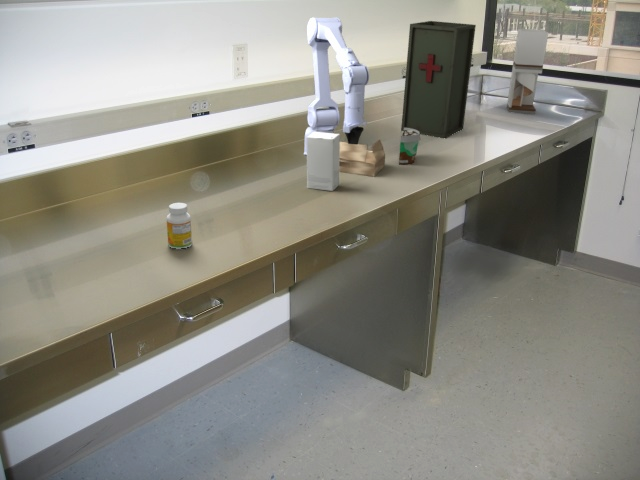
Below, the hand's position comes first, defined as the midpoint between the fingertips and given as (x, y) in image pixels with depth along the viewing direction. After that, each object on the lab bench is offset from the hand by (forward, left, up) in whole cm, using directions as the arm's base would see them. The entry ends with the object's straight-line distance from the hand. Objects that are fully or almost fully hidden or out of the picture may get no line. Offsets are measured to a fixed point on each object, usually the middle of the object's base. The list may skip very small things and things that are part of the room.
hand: (352, 150), depth 202 cm
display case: (+41, +123, -7) cm, 130 cm away
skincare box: (-3, -17, -7) cm, 19 cm away
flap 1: (0, -1, -3) cm, 3 cm away
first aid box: (+12, +67, -7) cm, 68 cm away
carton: (0, +6, -7) cm, 10 cm away
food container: (+14, +20, -7) cm, 25 cm away
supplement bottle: (-18, -70, -7) cm, 73 cm away
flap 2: (+8, +5, -3) cm, 10 cm away
